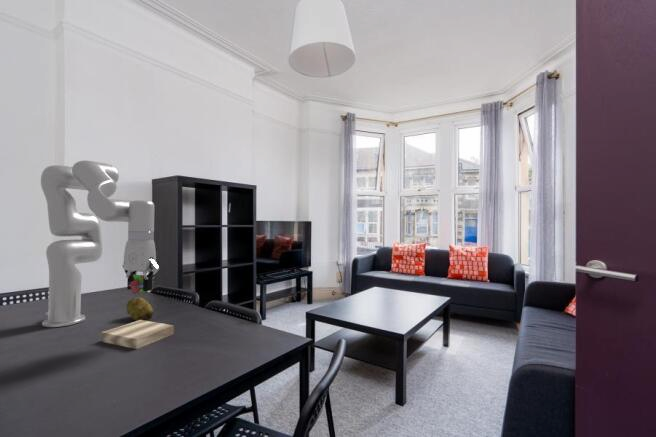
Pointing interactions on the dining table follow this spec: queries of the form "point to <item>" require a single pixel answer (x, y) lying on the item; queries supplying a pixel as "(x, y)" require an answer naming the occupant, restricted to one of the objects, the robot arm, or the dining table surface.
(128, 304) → the potato
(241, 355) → the dining table surface
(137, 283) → the geometric puzzle
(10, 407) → the dining table surface
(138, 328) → the birch platform
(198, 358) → the dining table surface
